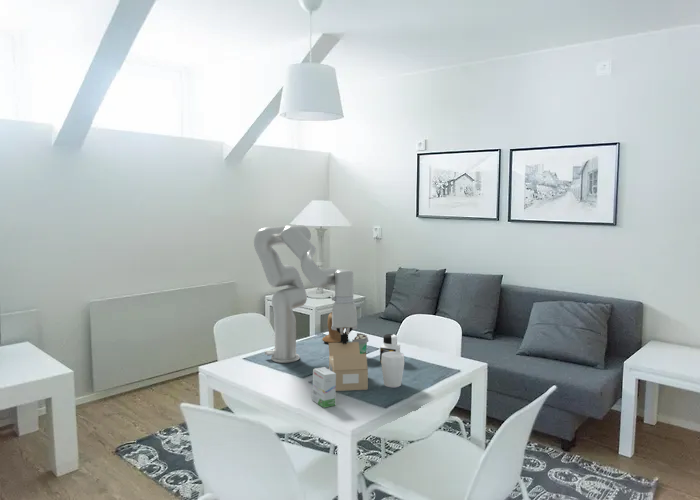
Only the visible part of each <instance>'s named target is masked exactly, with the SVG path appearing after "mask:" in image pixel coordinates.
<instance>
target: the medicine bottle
mask: <svg viewBox="0 0 700 500" xmlns="http://www.w3.org/2000/svg"><path fill="white" fill-rule="evenodd" d="M390 351H394V352H400V353H401V344H398V335H396V334H394V333H387V334H384V335H383V343H382V345H381V346H380V347H379V356H380V357H379V363H381V359H382V353H384V352H390Z"/></svg>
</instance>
